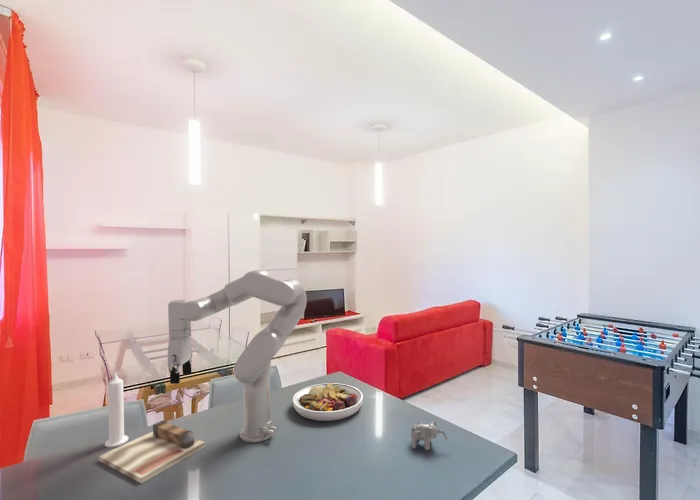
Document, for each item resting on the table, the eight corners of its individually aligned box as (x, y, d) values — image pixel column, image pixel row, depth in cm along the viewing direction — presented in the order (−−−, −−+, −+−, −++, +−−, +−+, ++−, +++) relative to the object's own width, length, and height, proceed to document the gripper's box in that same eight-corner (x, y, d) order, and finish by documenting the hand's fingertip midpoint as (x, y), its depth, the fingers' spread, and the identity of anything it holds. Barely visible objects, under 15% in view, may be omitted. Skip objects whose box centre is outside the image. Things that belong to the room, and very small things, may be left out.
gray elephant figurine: (409, 439, 127) (408, 417, 127) (443, 437, 126) (442, 416, 126) (413, 454, 117) (411, 431, 117) (449, 452, 117) (448, 429, 117)
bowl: (278, 412, 149) (277, 393, 149) (323, 388, 174) (322, 372, 174) (334, 432, 132) (334, 411, 132) (376, 403, 157) (375, 385, 157)
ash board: (205, 446, 123) (205, 442, 123) (141, 483, 104) (141, 478, 104) (163, 430, 135) (163, 426, 135) (99, 460, 116) (99, 456, 116)
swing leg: (197, 442, 123) (196, 431, 123) (185, 449, 119) (185, 437, 119) (164, 430, 132) (163, 419, 132) (152, 435, 128) (152, 424, 128)
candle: (116, 448, 123) (115, 376, 123) (99, 446, 125) (98, 375, 125) (133, 437, 130) (131, 369, 130) (116, 436, 131) (115, 368, 131)
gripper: (180, 328, 142) (181, 371, 142) (157, 339, 125) (159, 387, 125) (199, 327, 142) (200, 370, 142) (179, 338, 125) (180, 387, 125)
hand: (181, 378), depth 133 cm, fingers open, 9 cm apart
